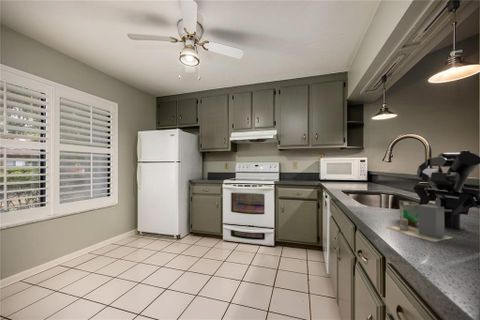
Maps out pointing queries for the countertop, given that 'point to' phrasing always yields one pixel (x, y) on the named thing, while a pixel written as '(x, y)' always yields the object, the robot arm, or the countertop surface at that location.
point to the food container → (409, 212)
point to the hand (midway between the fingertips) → (435, 211)
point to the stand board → (414, 231)
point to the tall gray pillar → (431, 220)
